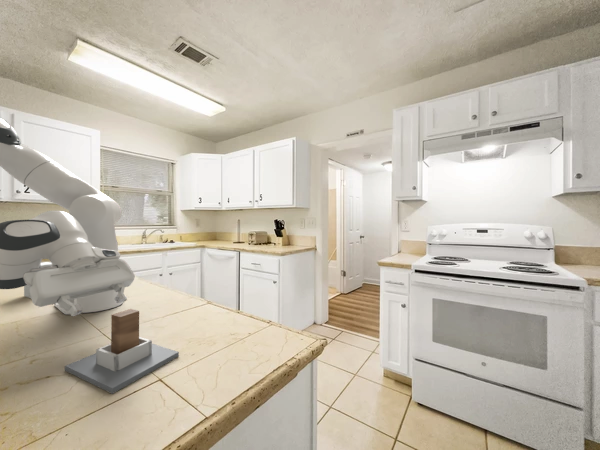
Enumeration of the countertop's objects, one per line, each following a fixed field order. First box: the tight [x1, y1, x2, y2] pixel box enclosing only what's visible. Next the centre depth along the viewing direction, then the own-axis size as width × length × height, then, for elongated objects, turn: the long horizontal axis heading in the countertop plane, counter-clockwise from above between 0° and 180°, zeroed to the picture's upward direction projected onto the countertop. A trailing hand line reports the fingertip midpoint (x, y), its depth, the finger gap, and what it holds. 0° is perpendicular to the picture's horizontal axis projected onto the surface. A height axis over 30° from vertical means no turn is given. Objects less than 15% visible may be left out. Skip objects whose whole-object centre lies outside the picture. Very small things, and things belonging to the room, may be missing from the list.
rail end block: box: [110, 308, 140, 355], centre depth 55 cm, size 3×4×10 cm
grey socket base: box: [64, 336, 180, 394], centre depth 55 cm, size 16×14×4 cm
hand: (101, 307), depth 61 cm, fingers open, 8 cm apart
